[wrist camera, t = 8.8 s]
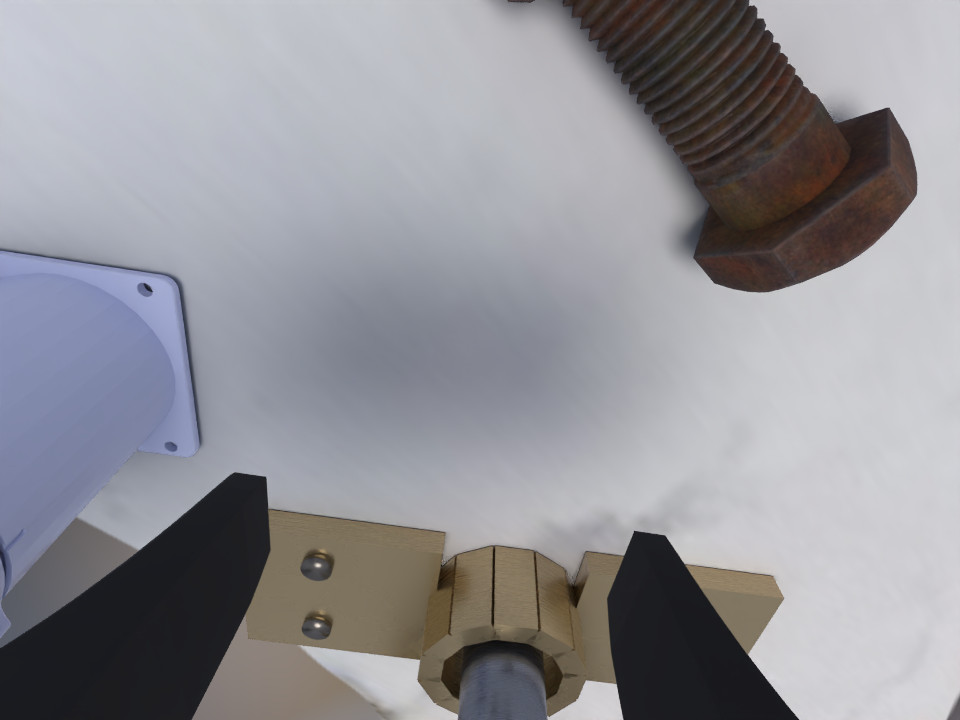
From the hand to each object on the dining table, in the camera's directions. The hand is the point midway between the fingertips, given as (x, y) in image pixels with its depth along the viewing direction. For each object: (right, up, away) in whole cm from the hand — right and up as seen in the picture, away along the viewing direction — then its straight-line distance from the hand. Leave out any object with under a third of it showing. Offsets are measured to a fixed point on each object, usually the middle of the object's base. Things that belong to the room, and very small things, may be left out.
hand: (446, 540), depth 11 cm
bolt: (+5, +14, +5) cm, 15 cm away
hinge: (+2, -8, +17) cm, 19 cm away
